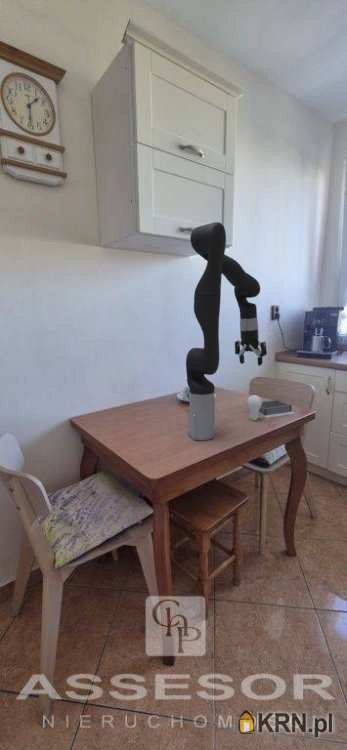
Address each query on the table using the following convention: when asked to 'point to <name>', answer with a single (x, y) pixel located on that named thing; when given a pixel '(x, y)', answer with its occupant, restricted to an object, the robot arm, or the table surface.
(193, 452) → the table surface
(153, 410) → the table surface
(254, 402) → the lightbulb
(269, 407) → the grey flat square tray
